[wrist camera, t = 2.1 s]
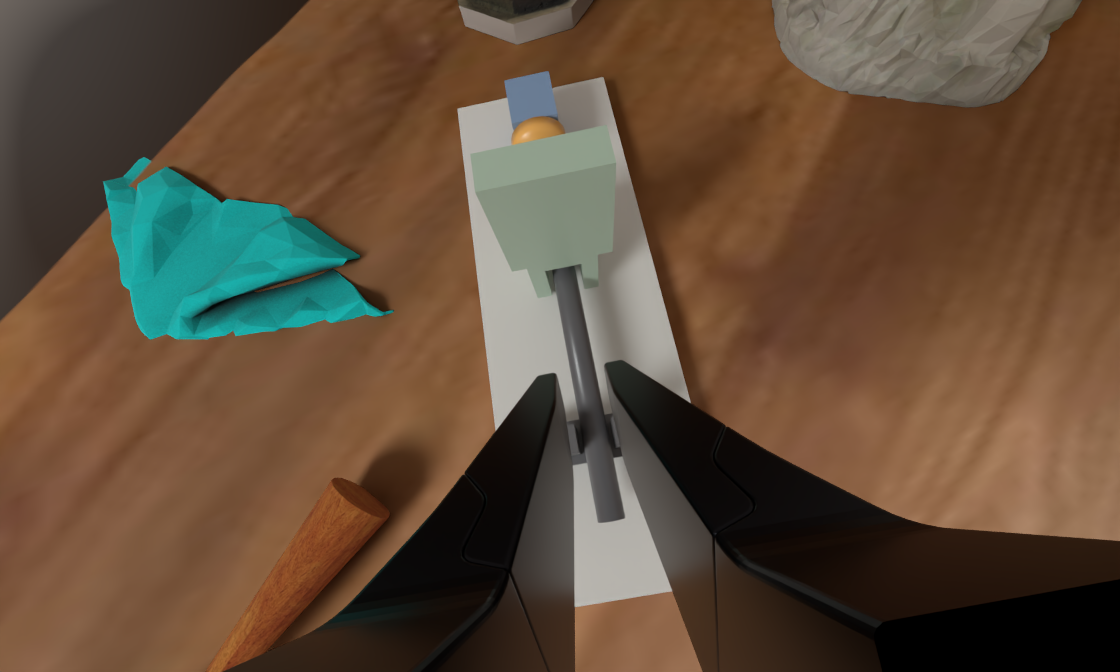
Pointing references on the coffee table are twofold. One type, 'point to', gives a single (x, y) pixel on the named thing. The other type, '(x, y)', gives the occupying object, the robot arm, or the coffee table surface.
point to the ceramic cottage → (920, 45)
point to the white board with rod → (576, 334)
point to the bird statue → (522, 17)
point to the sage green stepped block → (550, 202)
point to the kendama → (304, 569)
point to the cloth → (222, 261)
